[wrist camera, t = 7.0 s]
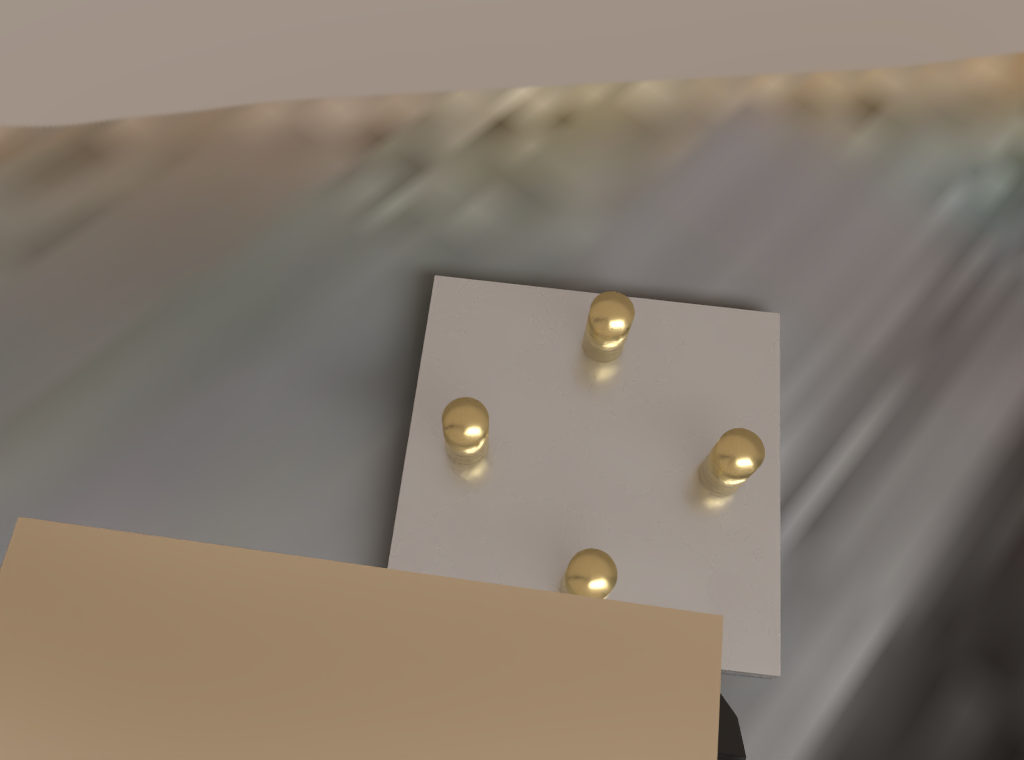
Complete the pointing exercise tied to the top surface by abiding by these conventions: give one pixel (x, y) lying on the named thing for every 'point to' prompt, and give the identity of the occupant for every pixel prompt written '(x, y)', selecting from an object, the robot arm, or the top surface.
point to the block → (330, 660)
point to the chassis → (600, 454)
